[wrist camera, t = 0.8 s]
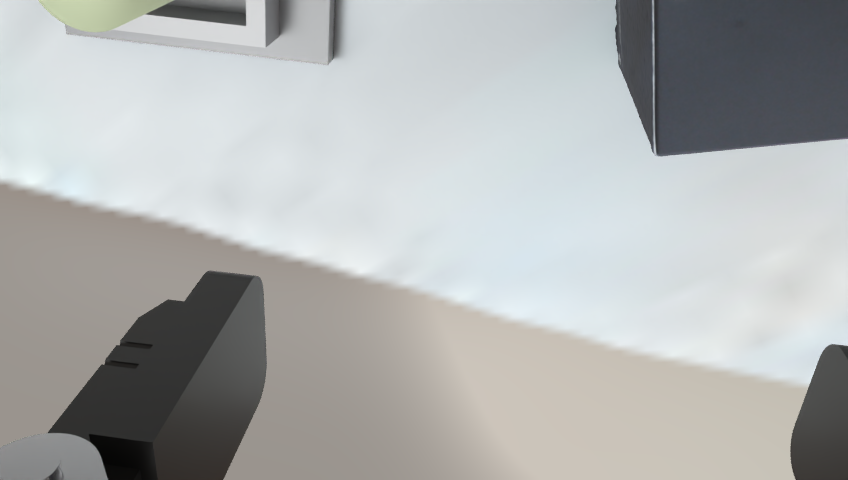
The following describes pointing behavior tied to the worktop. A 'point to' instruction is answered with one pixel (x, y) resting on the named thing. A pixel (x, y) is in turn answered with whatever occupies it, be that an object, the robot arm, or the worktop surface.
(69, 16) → the jaw peg olive
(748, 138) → the small box
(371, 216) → the worktop surface
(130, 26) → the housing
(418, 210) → the worktop surface
